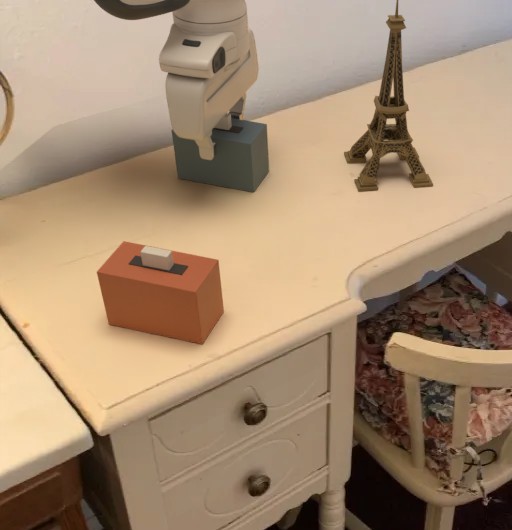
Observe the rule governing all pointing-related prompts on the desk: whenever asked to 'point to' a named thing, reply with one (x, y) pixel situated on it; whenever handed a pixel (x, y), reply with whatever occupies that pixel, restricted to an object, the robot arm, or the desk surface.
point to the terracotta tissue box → (161, 291)
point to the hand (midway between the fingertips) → (223, 140)
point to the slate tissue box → (227, 155)
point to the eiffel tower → (386, 109)
